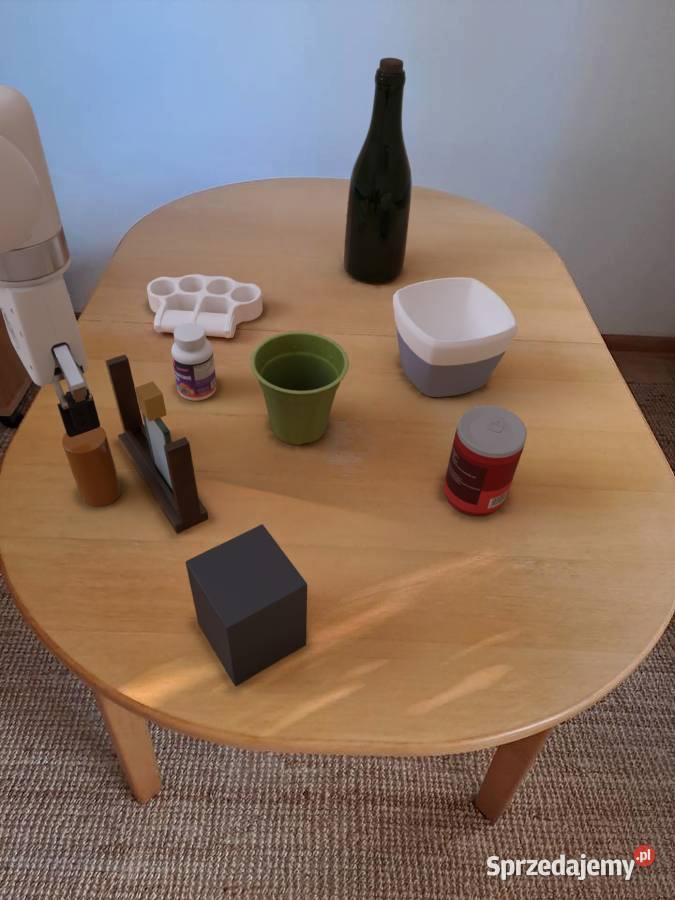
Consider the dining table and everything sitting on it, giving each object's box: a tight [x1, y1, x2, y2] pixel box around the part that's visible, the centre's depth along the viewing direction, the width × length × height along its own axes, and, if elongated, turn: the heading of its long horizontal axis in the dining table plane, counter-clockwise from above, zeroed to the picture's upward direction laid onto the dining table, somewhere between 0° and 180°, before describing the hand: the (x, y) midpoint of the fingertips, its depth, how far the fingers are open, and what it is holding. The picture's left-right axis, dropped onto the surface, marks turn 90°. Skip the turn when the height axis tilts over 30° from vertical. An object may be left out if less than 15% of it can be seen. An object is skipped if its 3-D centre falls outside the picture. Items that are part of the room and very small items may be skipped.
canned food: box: [443, 404, 528, 517], centre depth 78 cm, size 8×8×11 cm
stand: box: [185, 523, 308, 687], centre depth 64 cm, size 8×8×11 cm
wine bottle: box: [343, 57, 413, 285], centre depth 105 cm, size 10×10×33 cm
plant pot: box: [249, 330, 350, 446], centre depth 85 cm, size 12×12×11 cm
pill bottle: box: [170, 323, 218, 402], centre depth 90 cm, size 5×5×10 cm
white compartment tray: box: [146, 273, 264, 339], centre depth 105 cm, size 3×18×15 cm
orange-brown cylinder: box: [61, 425, 122, 507], centre depth 76 cm, size 5×5×9 cm
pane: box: [135, 381, 173, 493], centre depth 74 cm, size 2×7×14 cm, turn 34°
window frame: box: [104, 354, 210, 535], centre depth 77 cm, size 4×17×13 cm, turn 34°
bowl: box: [392, 276, 519, 398], centre depth 94 cm, size 15×15×11 cm
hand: (67, 403), depth 69 cm, fingers open, 9 cm apart
